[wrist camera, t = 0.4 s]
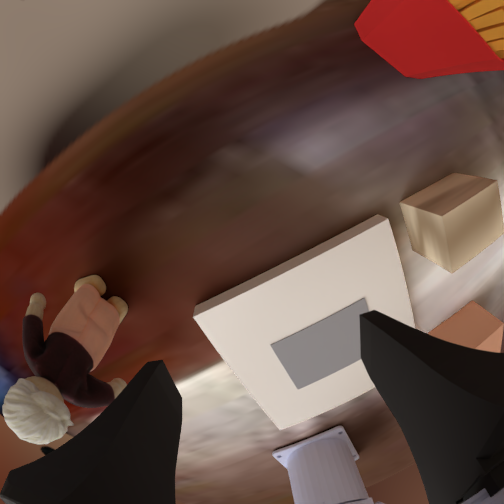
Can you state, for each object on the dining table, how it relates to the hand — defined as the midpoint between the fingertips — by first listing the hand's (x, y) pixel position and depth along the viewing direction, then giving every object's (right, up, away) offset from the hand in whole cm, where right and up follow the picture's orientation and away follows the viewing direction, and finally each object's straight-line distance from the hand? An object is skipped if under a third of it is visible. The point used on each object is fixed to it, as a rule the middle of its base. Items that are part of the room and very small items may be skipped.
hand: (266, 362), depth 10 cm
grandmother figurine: (-11, 0, +10) cm, 15 cm away
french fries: (+9, +19, +5) cm, 22 cm away
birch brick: (+13, +7, +9) cm, 18 cm away
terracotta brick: (+19, -4, +13) cm, 24 cm away
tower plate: (+5, -3, +12) cm, 13 cm away
